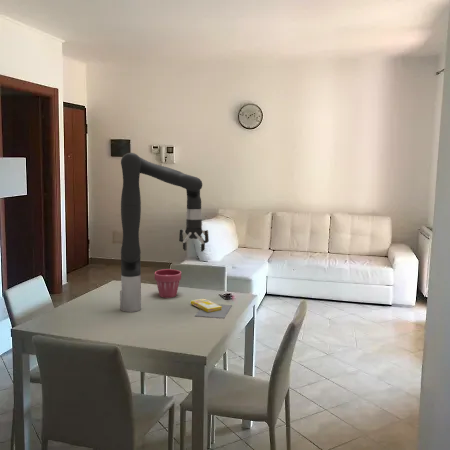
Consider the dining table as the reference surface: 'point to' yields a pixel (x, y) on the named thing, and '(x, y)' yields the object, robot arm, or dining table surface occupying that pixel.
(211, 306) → the candy box
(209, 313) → the mat
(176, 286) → the plant pot
